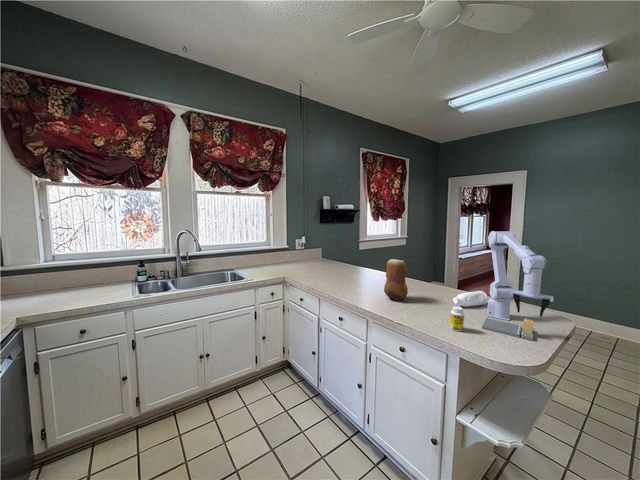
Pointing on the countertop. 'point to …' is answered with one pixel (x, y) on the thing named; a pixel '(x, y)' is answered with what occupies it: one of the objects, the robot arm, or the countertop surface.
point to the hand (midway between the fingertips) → (529, 313)
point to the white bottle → (471, 299)
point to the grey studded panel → (502, 327)
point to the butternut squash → (396, 280)
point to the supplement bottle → (457, 319)
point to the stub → (527, 329)
